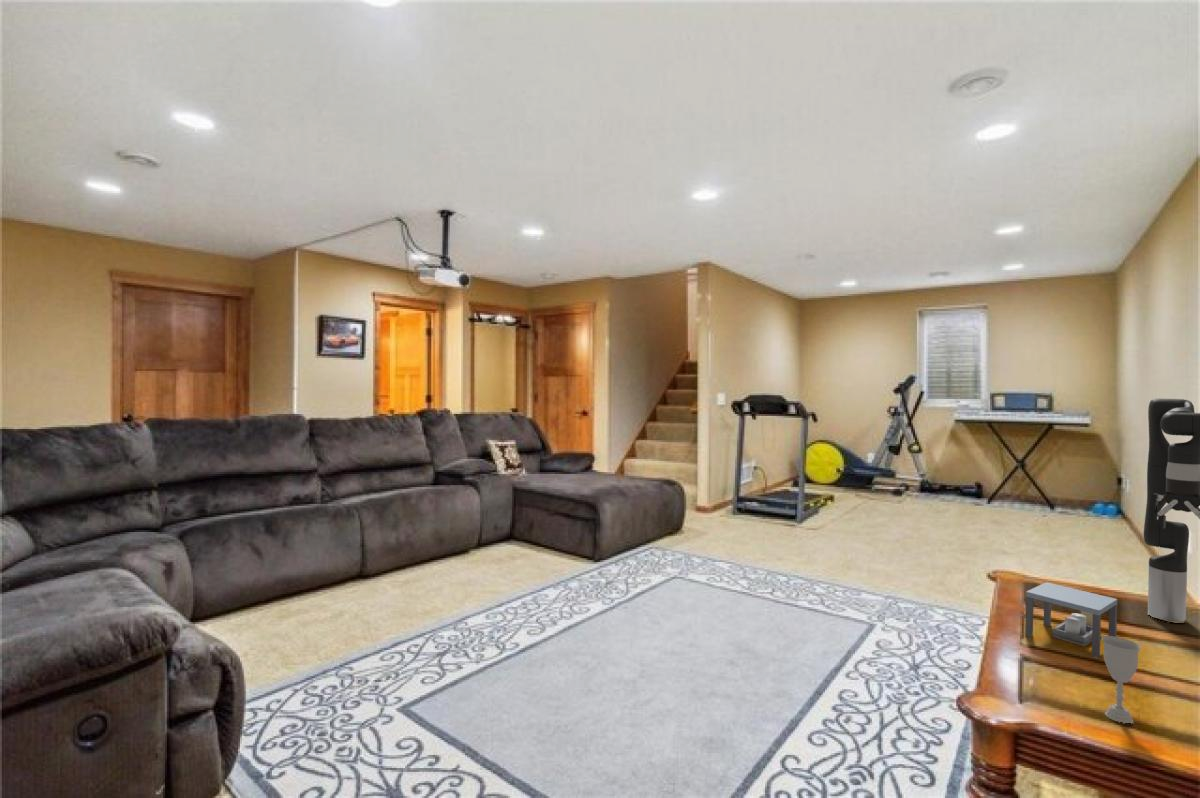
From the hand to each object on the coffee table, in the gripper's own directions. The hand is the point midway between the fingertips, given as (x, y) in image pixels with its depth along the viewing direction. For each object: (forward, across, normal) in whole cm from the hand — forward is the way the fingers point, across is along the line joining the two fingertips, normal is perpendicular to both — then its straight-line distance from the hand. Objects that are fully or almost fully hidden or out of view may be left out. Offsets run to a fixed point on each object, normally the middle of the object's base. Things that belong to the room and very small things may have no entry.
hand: (1182, 530), depth 174 cm
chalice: (+35, -4, +67) cm, 76 cm away
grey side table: (+35, +19, +26) cm, 47 cm away
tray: (+35, +19, +18) cm, 44 cm away
